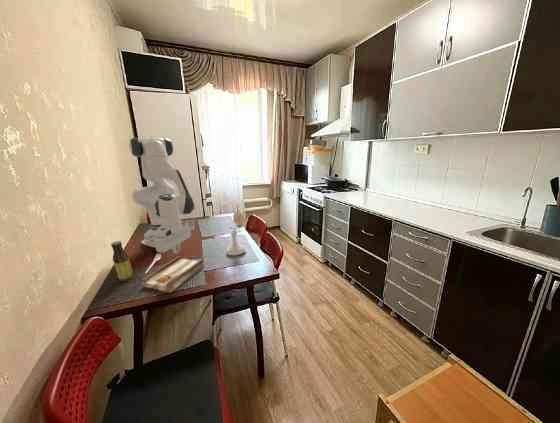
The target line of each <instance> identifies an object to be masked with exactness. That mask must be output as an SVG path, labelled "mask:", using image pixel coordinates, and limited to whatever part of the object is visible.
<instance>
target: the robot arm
mask: <svg viewBox="0 0 560 423" xmlns="http://www.w3.org/2000/svg"><path fill="white" fill-rule="evenodd" d="M172 142H173V141H172V140H171V139H170V138H166V137H157V136H156V137H154V136H148V137H145V136H144V137H132V138H131V139H130V140H129V143H128V148H129V151H130V153H131V155H132V156H134V157H135V158H137V157H138V158H140V162H141V172H142V177H143V179H145V180H146V181H148V182H151V183H152V184H153V185H150V186H144V187H139V188H137V189H135V190H134V191H133V192H132V196H131V197H132V201H133V202H134V203H135V204H136V205H138V206H141V207H143V208H144V209H145V211H146V212H147V213H148V216H149V218H150V219H149V220H150V223H149V224H148V227H150V228H149V229H148V230H147V232H145V233H144V235H143V236H144V239H143V240H141V242H140V243H141V245H145V246H148V247H151V248H155V250H156V252H158V253H160V254H163V253H166V252H167V251H169V250H171V251H172V253H173V254H178V253H179V252H180V251H181V249H180V248H181V246H182V243H183V242H184V241H186V240H188V239H189V238H191V236H192V232H191V229H190V226H189V223H188V221H186V220H185V221H182V219H181V215H190V214H191V213H192V212H193V211H194V210H195V202H194V200H193V198H192V196H191V193H190V192H189V189H188V187H187V185H186V182H185V181H184V179H183V177H182V174H181V172H180V171H179V169H178V168H177V167H175V166H174V165H172V163H171V161H170V159H169V157H171V156H172V155H173V154H174V145H173V143H172ZM166 180H169V181H170V182H173V183H174V184H175V186H176V188H177V189H178V192H179V196H178V195H177V196H176V189H175V187H174V186H173V185H172V184H170V183H169V182H167V181H166Z"/></svg>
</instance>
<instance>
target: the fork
mask: <svg viewBox="0 0 560 423" xmlns="http://www.w3.org/2000/svg"><path fill="white" fill-rule="evenodd" d="M161 258H162V253H158V254H155V257H154V259H153V261H152V263H150V265H149V267H148V268H147V270H146V271H145V272H144V274H145V273H146V274H147V273H148V272H149V270H150V269H151V268H152V267H153V266H154V264H155V263H156V262H157V261H159V260H160V259H161Z"/></svg>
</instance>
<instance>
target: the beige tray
mask: <svg viewBox="0 0 560 423" xmlns="http://www.w3.org/2000/svg"><path fill="white" fill-rule="evenodd" d="M204 266H205V265H204V260H203V259H202V258H201V259H200V260H193V259H187V258H181V256H180V255H178V256H176V257H174V258H173V259H171V260H170V261H168V262H167V263H166V264H164V265H162V266H160V267H159V268H157V269H156V270H154V271H153V272H151V273H150V274H148V275H146V276H145V277H143V278H142V279H141V282H142V287H143V288H147V287H148V288H147V289H151V288H153V290H156V289H158V291H161V292H167V293H172V292H173V291H174V290H176V289H177V288H178V287H179V286H180V285H182V284H183V283H184V282H186V281H187V280H188V279H189V278H191V277H192V276H193V275H194V274H196V273H197V272H199V271H200V269H202V268H203V267H204ZM162 276H167V277H168V281H166V282H165V283H162V282H159V279H160V277H162Z"/></svg>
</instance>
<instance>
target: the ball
mask: <svg viewBox="0 0 560 423" xmlns="http://www.w3.org/2000/svg"><path fill="white" fill-rule="evenodd" d="M166 281H168V277H167V276H162V277H160V279H159V282H162V283H165V282H166Z"/></svg>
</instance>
